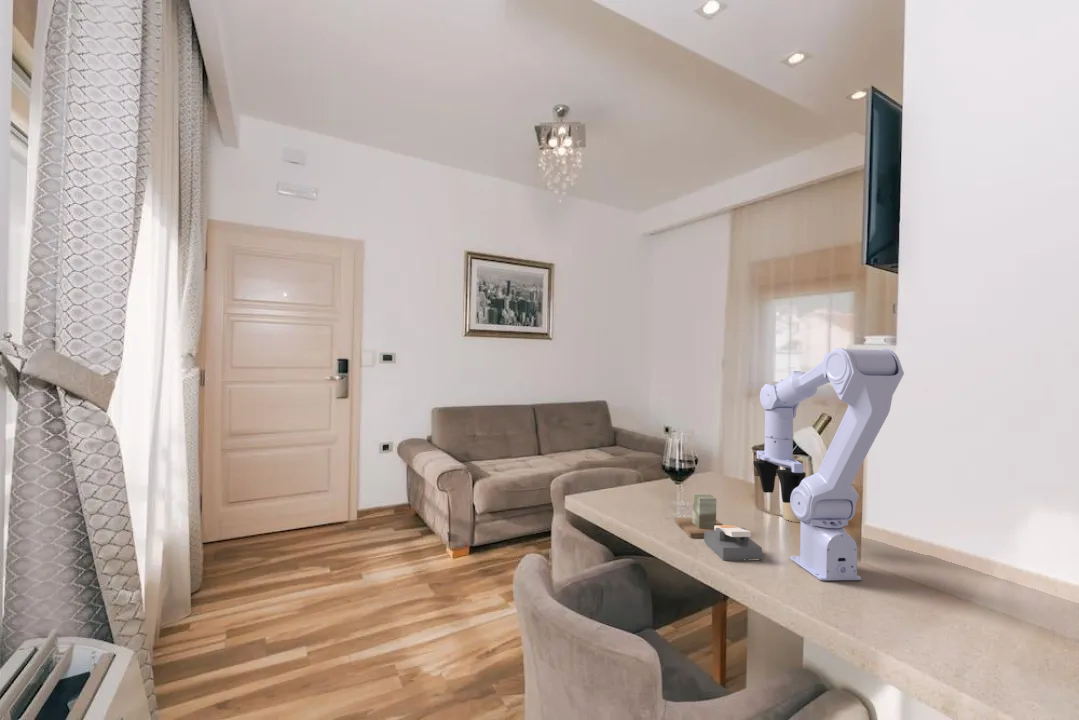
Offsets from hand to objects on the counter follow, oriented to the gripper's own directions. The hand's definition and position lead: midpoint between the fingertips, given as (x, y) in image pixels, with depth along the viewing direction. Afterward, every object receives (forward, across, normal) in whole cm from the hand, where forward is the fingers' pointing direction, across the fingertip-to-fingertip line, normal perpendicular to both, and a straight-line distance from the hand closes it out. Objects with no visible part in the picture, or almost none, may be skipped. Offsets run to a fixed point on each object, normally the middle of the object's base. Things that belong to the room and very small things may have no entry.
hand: (777, 497), depth 103 cm
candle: (+10, -12, +12) cm, 20 cm away
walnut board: (+9, -6, -15) cm, 18 cm away
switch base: (+9, +6, -14) cm, 18 cm away
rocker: (+5, +6, -14) cm, 16 cm away
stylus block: (+8, -6, -15) cm, 18 cm away
